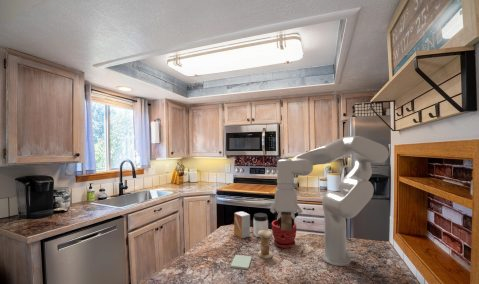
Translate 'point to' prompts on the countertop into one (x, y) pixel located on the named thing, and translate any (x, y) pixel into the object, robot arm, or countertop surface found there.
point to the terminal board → (241, 262)
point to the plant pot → (283, 236)
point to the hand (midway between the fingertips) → (286, 226)
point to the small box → (242, 224)
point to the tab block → (286, 221)
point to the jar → (259, 223)
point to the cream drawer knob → (265, 244)
